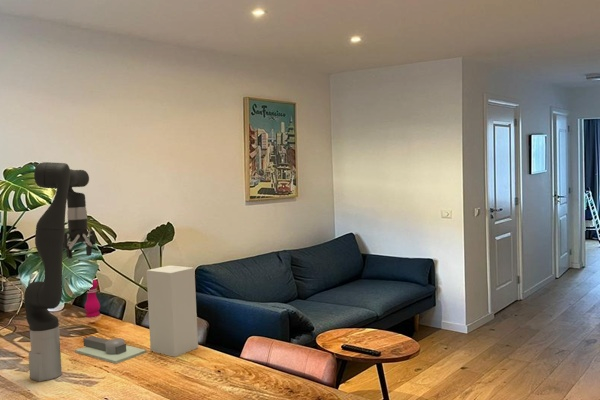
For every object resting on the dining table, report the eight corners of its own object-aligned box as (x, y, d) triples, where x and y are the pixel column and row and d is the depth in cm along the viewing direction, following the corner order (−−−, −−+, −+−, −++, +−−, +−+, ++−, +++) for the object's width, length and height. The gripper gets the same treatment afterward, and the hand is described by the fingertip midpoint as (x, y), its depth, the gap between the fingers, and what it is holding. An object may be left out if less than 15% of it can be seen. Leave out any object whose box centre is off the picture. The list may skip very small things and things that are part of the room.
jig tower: (175, 357, 203) (170, 273, 201) (150, 351, 211) (146, 270, 209) (198, 347, 213) (194, 267, 211) (174, 342, 221) (170, 265, 219)
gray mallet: (114, 355, 204) (113, 345, 204) (80, 346, 217) (79, 337, 216) (129, 350, 210) (129, 340, 209) (95, 342, 222) (95, 332, 222)
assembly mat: (115, 363, 198) (115, 361, 198) (75, 352, 213) (75, 349, 213) (146, 352, 209) (146, 350, 209) (105, 342, 224) (105, 340, 224)
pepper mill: (97, 317, 266) (94, 277, 265) (82, 317, 266) (80, 277, 265) (102, 313, 273) (100, 274, 272) (88, 314, 274) (86, 275, 273)
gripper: (66, 219, 216) (68, 260, 217) (97, 216, 227) (100, 254, 228) (56, 219, 220) (58, 258, 221) (87, 216, 232) (89, 253, 232)
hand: (79, 256), depth 224 cm, fingers open, 8 cm apart
